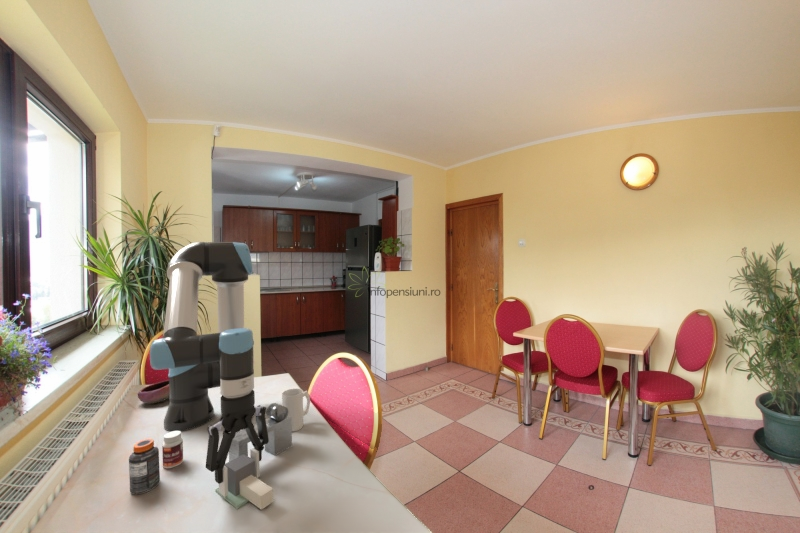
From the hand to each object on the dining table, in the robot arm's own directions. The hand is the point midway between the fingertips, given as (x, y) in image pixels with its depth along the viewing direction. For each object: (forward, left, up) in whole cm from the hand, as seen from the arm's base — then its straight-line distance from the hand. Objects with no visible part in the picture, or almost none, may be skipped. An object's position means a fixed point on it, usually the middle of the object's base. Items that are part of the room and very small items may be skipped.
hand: (240, 483), depth 80 cm
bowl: (-80, +11, -1) cm, 81 cm away
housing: (-7, +11, -1) cm, 13 cm away
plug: (+4, 0, -1) cm, 4 cm away
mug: (-14, +28, -1) cm, 31 cm away
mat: (+1, 0, -1) cm, 1 cm away
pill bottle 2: (-26, -5, -1) cm, 27 cm away
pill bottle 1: (-21, -13, -1) cm, 25 cm away
